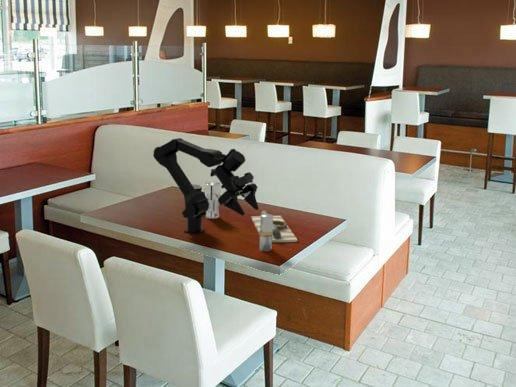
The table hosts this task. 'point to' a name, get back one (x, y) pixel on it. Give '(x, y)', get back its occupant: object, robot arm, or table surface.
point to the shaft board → (283, 232)
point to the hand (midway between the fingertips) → (250, 212)
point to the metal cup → (266, 232)
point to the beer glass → (212, 199)
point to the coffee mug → (196, 187)
